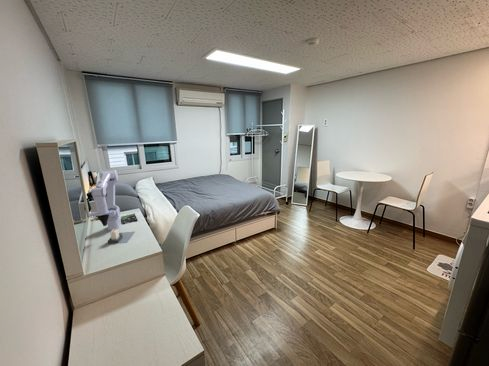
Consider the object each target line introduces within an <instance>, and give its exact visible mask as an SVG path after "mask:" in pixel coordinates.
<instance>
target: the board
mask: <svg viewBox="0 0 489 366" xmlns="http://www.w3.org/2000/svg"><path fill="white" fill-rule="evenodd" d="M135 233H136V231H127V232H119V235H122V236H123V238H122V239H121V240H120V241H119V243H111V244H108V243H107V244H106V245H119V244H128V242H129V241H130V240H131V239H132V237H133V236H134V234H135Z"/></svg>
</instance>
